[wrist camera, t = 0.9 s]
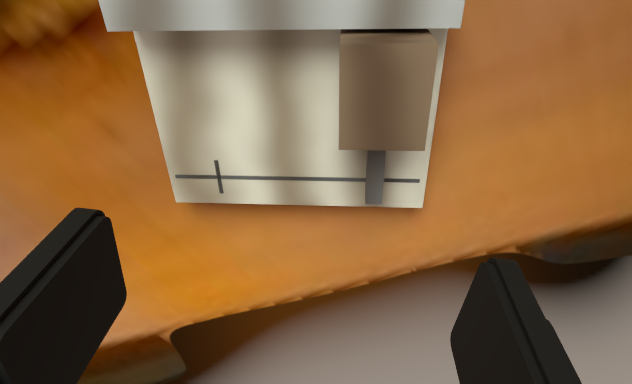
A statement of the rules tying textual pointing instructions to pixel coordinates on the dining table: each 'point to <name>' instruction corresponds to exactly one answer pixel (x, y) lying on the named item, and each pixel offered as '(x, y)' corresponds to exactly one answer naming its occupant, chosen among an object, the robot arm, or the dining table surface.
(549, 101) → the dining table surface
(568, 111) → the dining table surface
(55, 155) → the dining table surface
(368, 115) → the block
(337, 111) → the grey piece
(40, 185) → the dining table surface
